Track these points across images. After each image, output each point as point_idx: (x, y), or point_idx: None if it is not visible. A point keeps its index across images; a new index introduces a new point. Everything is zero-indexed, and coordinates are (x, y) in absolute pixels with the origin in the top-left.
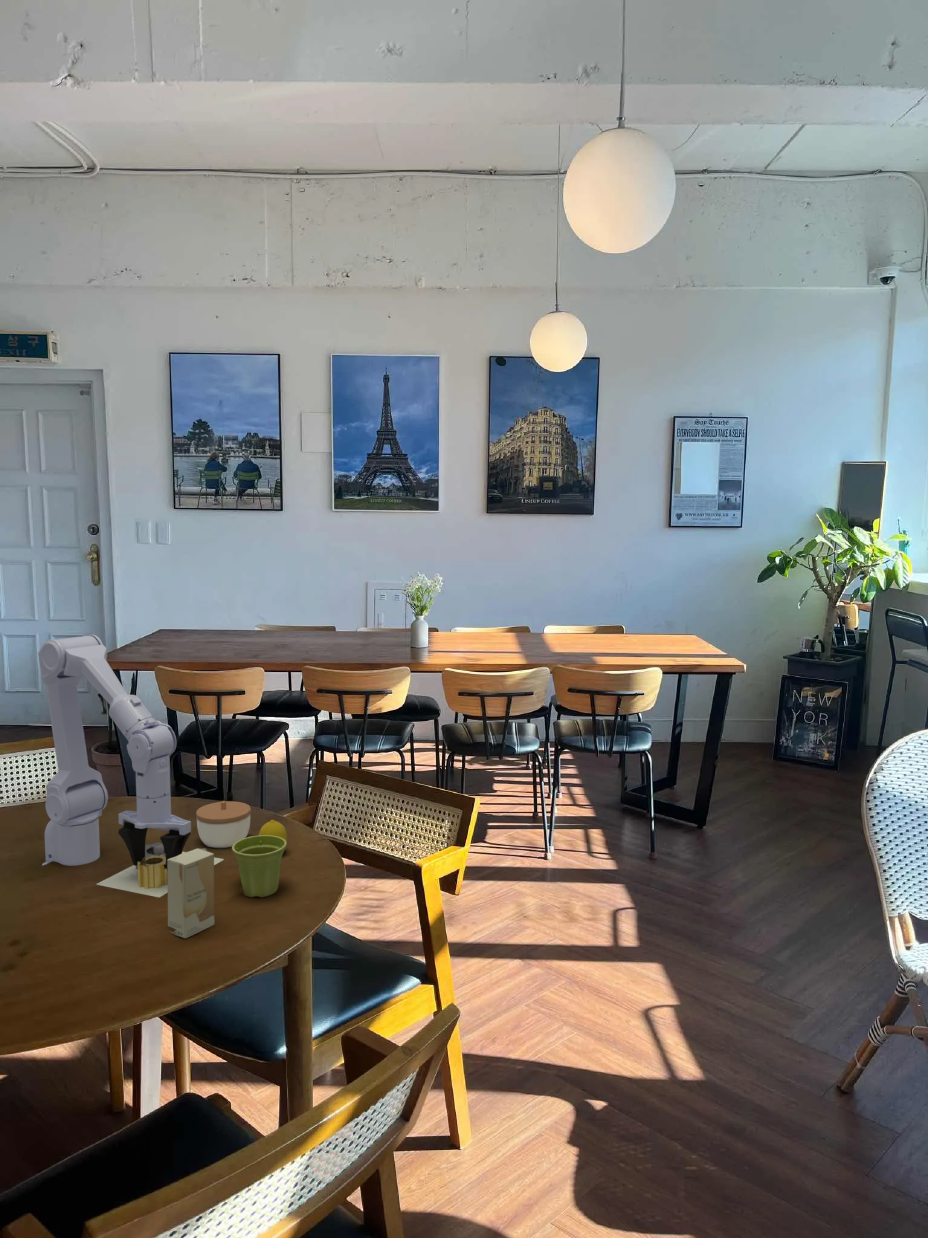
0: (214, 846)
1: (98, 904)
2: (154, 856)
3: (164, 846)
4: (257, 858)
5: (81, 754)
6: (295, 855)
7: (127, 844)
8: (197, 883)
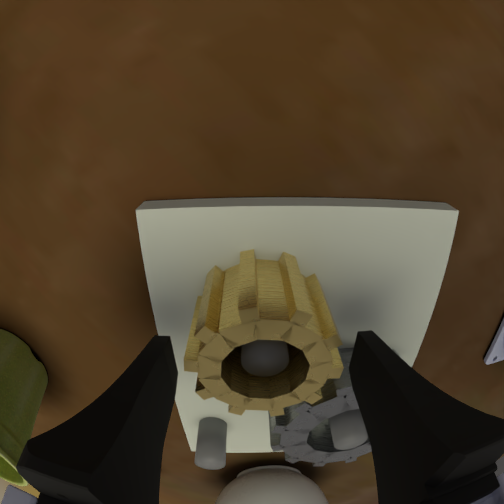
0: (261, 475)
1: (372, 108)
2: (300, 399)
3: (109, 433)
4: None
5: None
6: None
7: (432, 394)
8: None
